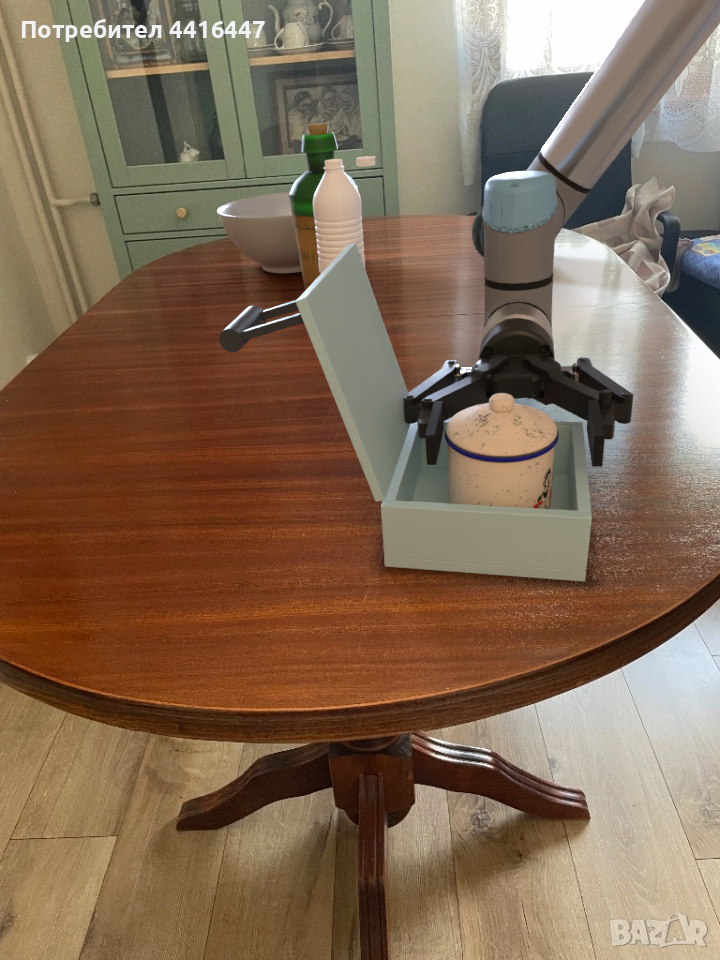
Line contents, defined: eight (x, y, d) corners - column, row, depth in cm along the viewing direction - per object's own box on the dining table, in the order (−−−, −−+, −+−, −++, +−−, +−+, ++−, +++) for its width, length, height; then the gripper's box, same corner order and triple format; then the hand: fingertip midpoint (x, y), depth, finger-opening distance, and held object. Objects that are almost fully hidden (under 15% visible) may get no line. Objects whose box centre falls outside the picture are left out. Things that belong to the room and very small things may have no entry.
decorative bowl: (201, 270, 150) (190, 209, 144) (303, 243, 164) (297, 186, 158) (279, 292, 132) (270, 223, 126) (385, 259, 147) (382, 196, 141)
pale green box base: (577, 477, 70) (582, 421, 67) (585, 581, 57) (592, 518, 54) (413, 470, 74) (411, 416, 71) (384, 566, 60) (380, 506, 57)
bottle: (299, 305, 125) (278, 124, 110) (360, 297, 126) (347, 118, 112) (306, 324, 115) (284, 130, 101) (371, 315, 117) (359, 123, 102)
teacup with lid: (558, 550, 59) (568, 421, 53) (445, 550, 60) (443, 423, 54) (542, 475, 69) (550, 360, 63) (446, 476, 70) (444, 362, 64)
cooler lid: (355, 242, 63) (253, 276, 67) (305, 298, 50) (180, 337, 53) (415, 411, 70) (319, 434, 74) (384, 500, 57) (270, 522, 60)
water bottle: (322, 350, 105) (303, 163, 92) (331, 335, 110) (314, 156, 97) (381, 350, 103) (371, 160, 90) (388, 334, 109) (378, 153, 96)
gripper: (638, 383, 74) (672, 494, 56) (402, 386, 80) (365, 488, 62) (645, 312, 71) (685, 406, 53) (397, 320, 76) (356, 408, 58)
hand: (512, 451), depth 57 cm, fingers open, 12 cm apart
